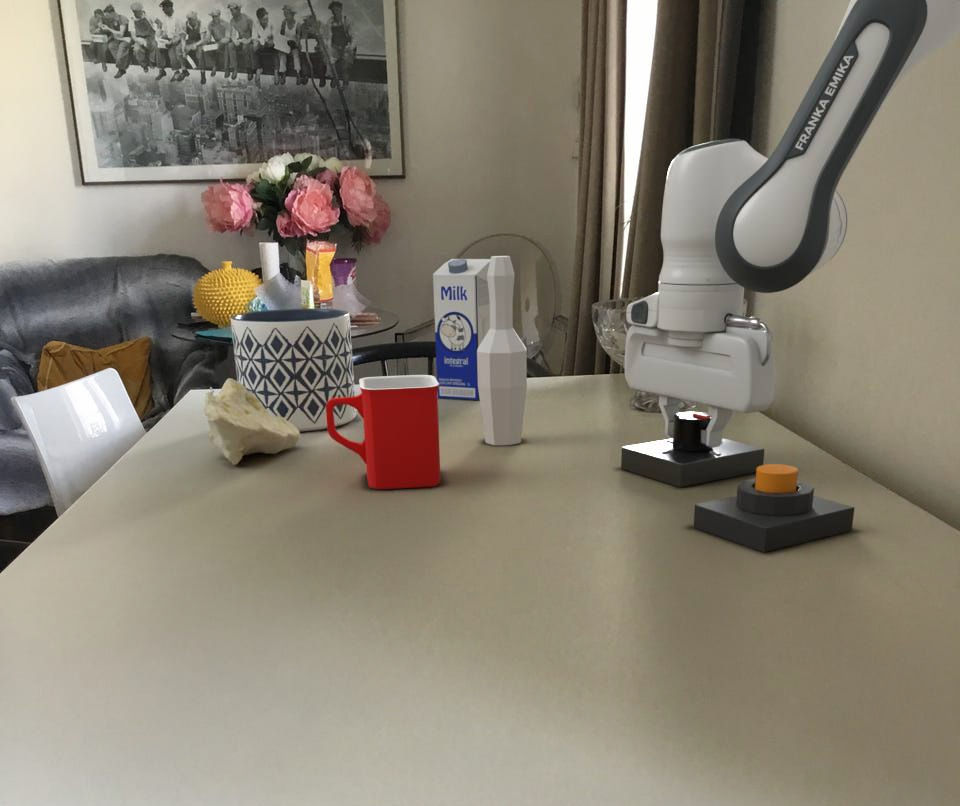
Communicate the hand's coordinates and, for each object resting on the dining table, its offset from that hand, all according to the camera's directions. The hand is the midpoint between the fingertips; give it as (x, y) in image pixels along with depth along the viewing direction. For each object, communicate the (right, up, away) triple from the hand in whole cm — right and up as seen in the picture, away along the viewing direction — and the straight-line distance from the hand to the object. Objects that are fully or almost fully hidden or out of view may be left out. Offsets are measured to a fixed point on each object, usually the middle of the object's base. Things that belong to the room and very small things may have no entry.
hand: (692, 441), depth 116 cm
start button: (+3, -8, -21) cm, 23 cm away
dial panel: (0, -3, +1) cm, 3 cm away
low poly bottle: (-21, +3, +17) cm, 27 cm away
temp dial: (0, -1, 0) cm, 1 cm away
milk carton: (-26, +16, +47) cm, 56 cm away
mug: (-34, -5, 0) cm, 34 cm away
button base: (+3, -12, -20) cm, 23 cm away
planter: (-49, +9, +31) cm, 59 cm away
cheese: (-51, -1, +10) cm, 52 cm away
